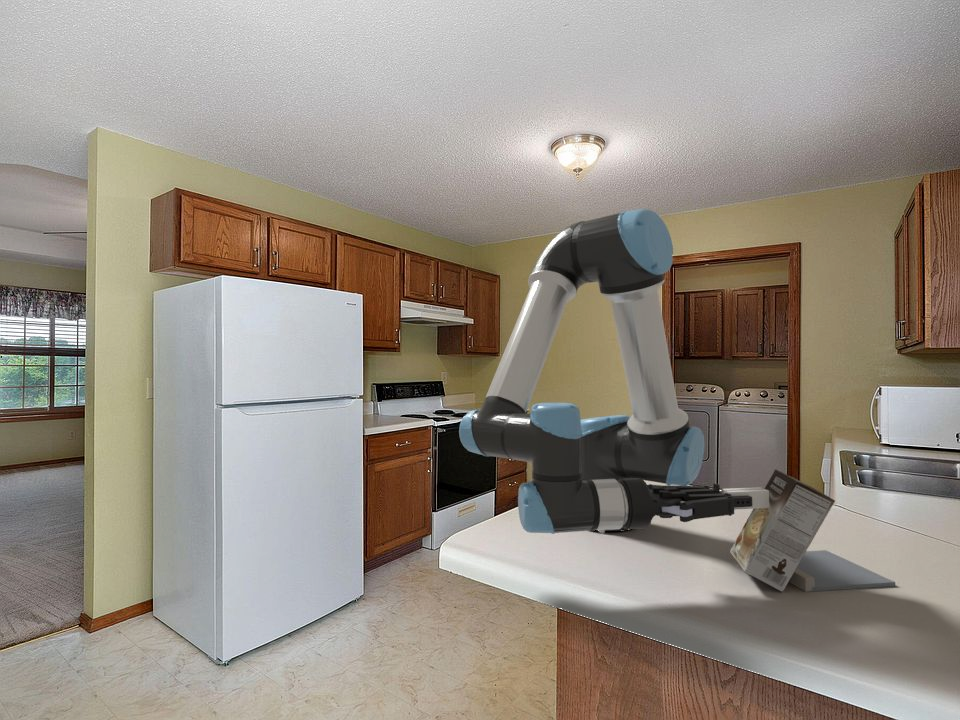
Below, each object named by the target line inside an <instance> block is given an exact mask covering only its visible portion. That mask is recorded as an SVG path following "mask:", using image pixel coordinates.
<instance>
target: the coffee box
mask: <svg viewBox="0 0 960 720" xmlns="http://www.w3.org/2000/svg"><path fill="white" fill-rule="evenodd" d="M764 489H766V490H769V508H756V509H751V510H752V511H751V512H750V514H749V516H748V517H747V519H746V522H745V523H744V525H743V527H742V529H741V531H740V532H739V534H738V536H737V537H736V539H735V540H734V543H733V545H732V547H731V548H730V550H729V552H730V554H731V555H732V556H733V558H734V559H735V561H736V562H737V564H739V567H741V569H742V570H743V571H744V572H745V573H746V574H748V575H750V576H751V577H754V578H756V579H757V580H759V581H761V582H762V583H764V584H766V585H768V586H770V587H772V588H775V589H776V590H778V591H779V592H781V593H783V592H784V591H785V589H786V587H787V586H788V584H789V583H790V582H789V580H790V578H791V577H792V575H793V573H794V571H795V570H796V568H797V566H798V564H799V563H800V561H801V559H802V558H803V556H804V554H805V552H806V551H808V549H809V547H810V545H811V544H812V542H813V541H814V539H815V537H816V535H817V533H818V531H819V530H820V527H822V525H823V522H824V521H825V519H826V518H827V516H828V514H829V513H830V511H831V509H832V507H833V506H834V503H835V502H836V500H835V499H833V498H831V497H829V496H828V495H827V494H825V493H823V492H822V491H821V490H820V491H819V490H818V489H816V488H814V487H812V486H811V485H808V484H806V483H805V482H803V481H801V480H798V479H797V478H795V477H792V476H790V475H788V474H787V473H784V472H783V471H779V470H778V469H774V471H773V473H772V474H771V477H770V478H769V480H768V482H767V483H766V485H765V487H764Z"/></svg>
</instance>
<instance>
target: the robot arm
mask: <svg viewBox="0 0 960 720" xmlns="http://www.w3.org/2000/svg"><path fill="white" fill-rule="evenodd" d="M673 254H674V248H673V240H672V237H671V234H670V232H669V229H668V227H667V224H666V223H665V221H664V220H663V218H662V217H660V215H658V213H657V212H655V211H653V210H652V209H649V208H648V209H647V208H640V209H639V208H638V209H632V210H624V211H622V212H618V213H613V214H609V215H605V216H601V217H598V218H593V219H589V220H584V221H583V220H582V221H577V222H575V223H572V224H570V225H568V226H566V227H565V228H563V229H562V230H561V231H559V232H558V233H557V234H556V235H555V236H554V237H553V238H552V239H551V240H550V242H549V243H548V244H547V245H546V246H545V248H544V249H543V251H542V252H541V253H540V255H539V256H538V257H537V259H536V261H535V263H534V266H533V268H532V269H531V272H530V274H529V276H528V279H527V284H528V287H529V290H528V293H527V296H526V297H525V300H524V302H523V305H522V308H521V310H520V313H519V315H518V317H517V320H516V321H515V325H514V327H513V329H512V331H511V335H510V337H509V340H508V341H507V344H506V347H505V349H504V351H503V355H502V356H501V359H500V361H499V363H498V367H497V369H496V371H495V373H494V375H493V378H492V380H491V384H490V385H489V387H488V391H487V392H486V396H485V398H484V400H483V403H482V404H481V407H480V409H474V410H470V411H468V412H467V413H466V414H465V415H464V416H463V417H462V418H461V420H460V424H459V430H458V434H459V439H460V442H461V444H462V446H463V447H464V449H466V450H467V451H468V452H471V453H473V454H477V455H482V456H483V457H488V458H489V457H494V458H495V457H496V458H502V459H503V458H504V459H510V460H515V461H521V462H526V463H531V468H532V469H531V472H532V473H531V480H529V481H528V482H522V483H521V484H520V485H519V488H518V491H517V492H518V496H517V508H518V517H519V520H520V525H521V527H522V529H523V530H524V531H525V532H527V533H531V534H539V533H540V534H551V535H552V534H553V535H555V534H559V533H562V534H563V533H574V532H589V531H591V532H592V531H593V532H596V531H595V530H599V531H598V533H600V534H605V533H606V532H605V531H621V530H628V529H632V530H641V529H647V528H648V527H649V526H650V525H651V523H652V520H653V518H655V516H657V517H659V518H660V519H672V518H673V517H679V522H683V523H688V522H691V521H693V520H700V519H709V518H716V517H717V518H718V517H724V516H729V517H731V516H733V515H735V510H753V509H756V508H769V490H766V489H765V488H763V487H761V486H757V487H737V488H735V487H734V488H721V487H720V484H719V483H713V484H712V485H713V488H712V487H710V486H709V485H690V484H693V482H694V481H695V480H696V479H697V477H698V475H699V473H700V470H701V469H702V468H701V467H702V465H703V461H704V460H703V459H704V453H705V435H704V432H703V431H702V429H700V427H697V426H695V425H693V426H690V421H689V415H688V414H687V412H686V411H685V410H683V409H681V408H679V406H678V400H677V399H678V398H677V394H676V388H675V383H674V376H673V371H672V370H673V369H672V364H671V359H670V352H669V346H668V343H667V342H668V341H667V336H666V331H665V325H664V318H663V314H662V307H661V302H660V297H659V289H660V288H661V286H662V285H663V284H664V283H665V281H666V279H665V273H667V272H668V271H669V270H670V269H671V267H672V264H673V261H674V258H673ZM587 283H598V286H599V287H598V288H599V293H600V295H601V296H602V297H605V298H606V299H608V300H609V301H610V305H611V310H612V315H613V320H614V326H615V329H616V335H617V341H618V346H619V350H620V356H621V359H622V360H621V361H622V365H623V369H624V370H623V371H624V375H625V380H626V387H627V391H628V396H629V401H630V406H631V411H632V415H631V416H630V415H628V414H619V415H606V416H598V417H589V418H583V419H581V411H580V408H579V407H578V406H577V405H576V404H574V403H570V402H540V403H535V404H533V405H532V406H531V408H530V409H531V411H530V413H527V411H528V408H529V405H530V403H531V401H532V397H533V396H534V393H535V391H536V387H537V384H538V382H539V379H540V376H541V374H542V371H543V367H544V366H545V363H546V360H547V357H548V355H549V352H550V349H551V347H552V345H553V341H554V339H555V336H556V333H557V331H558V328H559V325H560V322H561V320H562V317H563V315H564V311H565V309H566V306H567V305H568V302H571V301H573V300H574V299H575V297H576V295H577V292H578V289H580V287H582V286H584V284H585V285H586V284H587ZM646 481H647V482H652V483H659V484H665V485H659V484H651V483H649V484H647V483H646ZM720 489H721V491H720ZM628 531H629V530H628ZM621 532H622V531H621Z"/></svg>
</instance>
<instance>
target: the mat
mask: <svg viewBox="0 0 960 720" xmlns="http://www.w3.org/2000/svg"><path fill="white" fill-rule="evenodd" d="M788 583H790V584H791V585H794V586H795V587H797V588H799V589H800V590H802V591H804V592H806V593H807V592H820V591H823V592H824V591H838V590H852V589H853V590H855V589H868V588H870V589H871V588H883V587H884V588H885V587H886V588H887V587H896V581H894V580H892V579H890V578H887V577H885V576H883V575H881V574H878V573H877V572H874V571H872V570H870V569H868V568H865V567H863V566H861V565H859V564H857V563H855V562H852V561H850V560H849V559H845V558H843V557H841V556H840V555H837V554H835V553H832V552H831V551H829V550H826V549H824V550H822V549H821V550H806V552H805V554H804V556H803V558H802V559H801V561H800V563H799V564H798V566H797V568H796V570H795V571H794V573H793V575H792V577H791V578H790V580H789V582H788Z"/></svg>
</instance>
